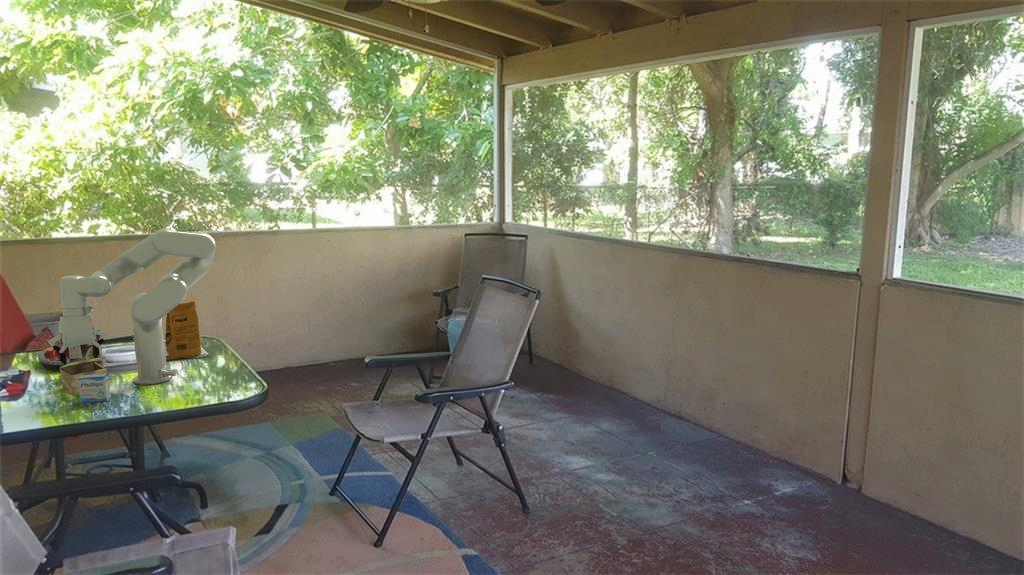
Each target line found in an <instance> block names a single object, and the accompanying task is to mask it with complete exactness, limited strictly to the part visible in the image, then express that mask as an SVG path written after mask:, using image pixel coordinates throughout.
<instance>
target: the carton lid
mask: <svg viewBox="0 0 1024 575" xmlns="http://www.w3.org/2000/svg"><path fill="white" fill-rule="evenodd" d="M105 359H106V357H105V356H103V357H100V358H95V359H90V360H84V361H79V362H74V363H68V364H67V365H64V366H61V367H60V369H61V368H67V367H72V366H77V365H82V364H88V363H93V362H97V361H100V360H103V361H104V360H105Z"/></svg>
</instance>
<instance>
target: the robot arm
mask: <svg viewBox="0 0 1024 575" xmlns="http://www.w3.org/2000/svg"><path fill="white" fill-rule="evenodd" d="M216 247H217V244H216V241H215V238H213V237H212V236H211V235H210V234H209V233H208V232H205V231H197V232H182V231H176V230H174V229H171V228H167V227H163V228H159V229H158V230H156V231H155V232H153V233H152V234H150V235H149V236H147V237H146V238H144V239H143V240H141V241H140V242H138V243H137V244H135V245H134V246H132V247H131V248H129V249H128V250H126V251H125V252H123V253H122V254H120V255H119V256H117V257H116V258H114V259H113V260H111V261H110V262H108V263H107V264H105V265H104V266H102V267H101V268H99V269H98V270H96V271H95V272H93V273H92V274H91V275H90V276H86V277H85V276H83V275H79V274H75V275H73V274H72V275H65V276H62V277H61V278H60V281H59V282H60V283H59V286H60V296H61V307H62V309H61V310H62V316H60V317H59V322H58V323H59V324H58V325H59V327H58V334H57V335H56V336H53V338H51V339H49V340H48V341H47V342H48V344H49V345H50V347H52V348H54V349H55V350H57V351H58V352H59V360H60V362H62V363H63V364H66V353H65V352H64V350H65V349H66V348H67V347H68V346H76V345H83V344H89V343H92V344H93V347H92V351H93V358H98V356H99V347H100V345H101V346H102V344H103V343H104V342H105V339H106V337H107V333H106V332H103V331H101V330H100V331H97V330H98V329H96V328H95V324H94V320H93V316H92V313H90V312H91V311H92V312H93V311H94V307H93V306H90V305H89V298H103V297H106V296H108V295H109V294H111V292H112V289H113V287H115V286H117V285H118V284H119V283H121V282H122V281H123V280H125V279H127V278H128V277H130V276H132V275H135V274H137V273H141V272H144V271H145V270H147V269H149V268H150V267H152V265H154V264H155V263H157V262H159V260H161V259H163V258H164V257H166V256H167V255H168V256H175V257H186V258H185V259H184V260H183V261H181V262H180V263H179V264H178V265H177V266H176V267H174V268H173V269H172V270H170V271H169V272H167V273H166V274H165V275H163V276H162V277H161V278H159V279H158V281H157V284H156V285H155V286H154V287H153V288H152V289H151V290H149V291H148V292H142V293H139V294H137V295H135V296H134V297H133V298H132V300H131V301H130V305H129V306H130V307H129V311H130V315H131V316H130V317H131V322H132V324H131V326H132V334H133V343H134V351H135V352H134V353H135V361H136V373H137V375H136V376H135V377H133V379H132V381H133V384H135V385H148V386H149V385H155V384H161V383H165V382H168V381H169V380H171V379H173V377H176V376H177V374H178V370H177V369H174V368H173V369H171V366H170V365H167V357H166V344H165V337H164V336H165V335H164V325H163V323H164V322H163V317H165V316H167V313H168V312H170V311H171V310H172V309H173V308H175V307H176V306H177V305H178V304H182V303H183V301H184V300H185V299H186V297H187V294H188V290H189V289H191V287H192V286H193V285H195V284H196V283H197V282H198V281H200V279H201V280H202V278H203V277H204V276H206V274H207V273H208V272H209V271H210V269H211V268H212V265H213V264H214V261H215V260H214V258H215V251H216ZM96 334H97V335H100V338H99V339H98V341H97V342H96ZM58 341H59V343H60V344H59V345H60V346H59V347H58V346H56V345H57V344H56V342H58Z"/></svg>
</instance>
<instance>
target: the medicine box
mask: <svg viewBox="0 0 1024 575" xmlns="http://www.w3.org/2000/svg"><path fill="white" fill-rule="evenodd" d="M78 382H79V390H80V395H79V397H80V403H81V404H84V405H85V404H93V403H104V402H108V401H109V400H110V399H111V397H112V394H111V388H110V384H111V383H110V377H109V372H107V373H103V374H90V375H82V376H80V377H79V378H78Z"/></svg>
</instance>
